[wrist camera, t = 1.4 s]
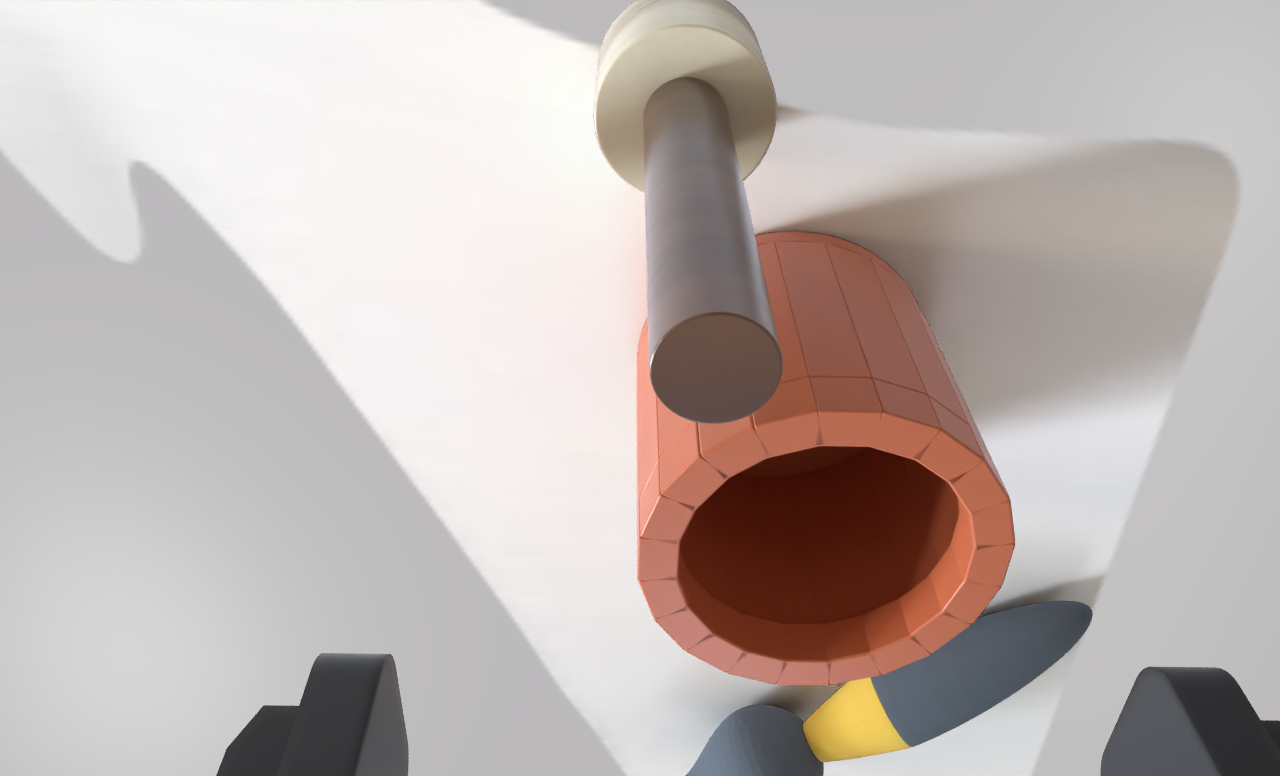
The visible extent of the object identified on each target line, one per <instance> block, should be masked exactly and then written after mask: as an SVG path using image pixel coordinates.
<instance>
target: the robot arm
mask: <svg viewBox="0 0 1280 776" xmlns="http://www.w3.org/2000/svg"><path fill="white" fill-rule="evenodd" d="M217 776H408V741H407V734H406V728H405V722H404V716H403V709H402V703H401V697H400V691H399V684H398V678H397V672H396V666H395V661H394V658H393V656H392V655H391V654H338V653H337V654H334V653H322V654H320V655H319V656H318V657H317V658H316V660H315V662H314V664H313V667H312V669H311V672H310V675H309V678H308V681H307V684H306V687H305V690H304V693H303V697H302V699H301V703H300V705H299V706H263V707H262V708H261V709H260V710H259V712H258V713H257V714H256V715H255V716H254V718H253V719H252V720H251V721H250V722H249V723H248V724H247V726H246V727H245V728H244V729H243V730H242V731H241V733H240V734H239V735H238V736H237V737H236V738H235V739H234V741H233V742H232V743H231V744H230V745H229V746H228V748H227V750H226V752H225V755H224V757H223V760H222V763H221V765H220V768H219V771H218V773H217ZM1101 776H1280V721H1261V720H1260V719H1259V717H1258V715H1257V714H1256V712H1255V711H1254V709H1253V707H1252V706H1251V704H1250V702H1249V701H1248V699H1247V697H1246V696H1245V695H1244V693H1243V691H1242V689H1241V688H1240V686H1239V685H1238V683H1237V682H1236V680H1235V679H1234V678H1233V677H1232V676H1231V675H1230V674H1229V673H1228V672H1226V671H1225V670H1223V669H1220V668H1202V667H1199V668H1198V667H1147V668H1145V669H1143V670H1142V671H1141V672H1140V673H1139V675H1138V677H1137V678H1136V681H1135V683H1134V685H1133V687H1132V690H1131V692H1130V694H1129V696H1128V699H1127V701H1126V703H1125V705H1124V707H1123V710H1122V712H1121V714H1120V717H1119V719H1118V721H1117V723H1116V725H1115V728H1114V730H1113V732H1112V734H1111V737H1110V739H1109V741H1108V743H1107V745H1106V748H1105V750H1104V753H1103V756H1102V762H1101Z"/></svg>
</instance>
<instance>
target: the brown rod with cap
mask: <svg viewBox="0 0 1280 776" xmlns="http://www.w3.org/2000/svg"><path fill="white" fill-rule="evenodd" d="M593 117H594V128H595V133H596V138H597V141H598V144H599V147H600V150H601V152H602V154H603V156H604V158H605V159H606V161H607V162H608V164H609V165H610V167H611V168H612V169H613V171H614V172H615V173H616V174H617V175H618V176H619V177H620V178H621V179H622V180H623V181H624V182H626V183H627V184H628V185H629V186H631V187H633V188H634V189H636V190H637V191H639V192H641V193H643V194H645V216H646V259H647V301H648V344H649V376H650V381H651V385H652V387H653V390H654V392H655V394H656V395H657V397H658V398H659V400H660V401H661V402H662V403H663V404H664V405H665V406H666V407H667V408H668V409H669V410H671V411H672V412H673V413H675V414H677V415H678V416H680V417H682V418H685V419H687V420H690V421H693V422H697V423H703V424H723V423H729V422H733V421H737V420H740V419H743V418H745V417H747V416H749V415H751V414H753V413H754V412H756V411H757V410H759V409H760V408H761V407H762V406H764V405H765V404H766V403H767V402H768V401H769V400H770V398H771V397H772V396H773V394H774V393H775V391H776V389H777V387H778V386H779V383H780V380H781V377H782V372H783V359H782V353H781V348H780V344H779V340H778V335H777V331H776V326H775V322H774V317H773V313H772V308H771V304H770V299H769V295H768V291H767V286H766V282H765V277H764V273H763V268H762V264H761V259H760V255H759V250H758V246H757V242H756V237H755V233H754V228H753V224H752V219H751V215H750V210H749V206H748V201H747V197H746V193H745V188H744V184H743V181H744V180H745V179H746V178H747V177H748V176H749V175H750V174H751V173H752V172H753V171H754V170H755V169H756V167H757V166H758V165H759V164H760V162H761V161H762V159H763V157H764V156H765V154H766V152H767V150H768V148H769V146H770V144H771V141H772V138H773V135H774V132H775V126H776V120H777V103H776V95H775V90H774V86H773V83H772V80H771V77H770V74H769V72H768V69H767V66H766V63H765V61H764V58H763V55H762V52H761V49H760V46H759V44H758V41H757V38H756V36H755V33H754V31H753V30H752V28H751V26H750V24H749V23H748V21H747V20H746V18H745V17H744V16H743V14H742V13H740V12H739V10H737V8H736V7H735V6H733V5H732V4H731V3H729V2H728V1H727V0H636V1H635V2H633V3H632V4H630V5H629V6H628V7H627V8H626V9H625V10H623V11H622V13H621V14H620V15H619V16H618V17H617V18H616V19H615V21H614V22H613V24H612V25H611V27H610V28H609V30H608V32H607V34H606V36H605V38H604V40H603V43H602V46H601V49H600V54H599V59H598V69H597V79H596V90H595V100H594V114H593Z"/></svg>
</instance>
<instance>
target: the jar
mask: <svg viewBox="0 0 1280 776" xmlns="http://www.w3.org/2000/svg"><path fill="white" fill-rule="evenodd" d="M755 237H756V242H757V246H758V250H759V255H760V259H761V264H762V268H763V273H764V277H765V282H766V286H767V291H768V295H769V299H770V304H771V308H772V313H773V317H774V322H775V326H776V331H777V335H778V340H779V344H780V348H781V353H782V359H783V372H782V377H781V380H780V383H779V386H778V387H777V389H776V391H775V393H774V394H773V396H772V397H771V398H770V400H769V401H768V402H767V403H766V404H765V405H764V406H762V407H761V408H760V409H759V410H757V411H756V412H754V413H753V414H751V415H749V416H747V417H745V418H743V419H740V420H737V421H733V422H729V423H723V424H703V423H697V422H693V421H690V420H687V419H685V418H682V417H680V416H678V415H677V414H675V413H673V412H672V411H671V410H669V409H668V408H667V407H666V406H665V405H664V404H663V403H662V402H661V401H660V400H659V398H658V397H657V395H656V394H655V392H654V390H653V387H652V385H651V381H650V376H649V344H648V317H647V320H646V322H645V324H644V327H643V330H642V333H641V337H640V341H639V346H638V355H637V578H638V581H639V584H640V586H641V589H642V591H643V594H644V596H645V598H646V601H647V603H648V606H649V608H650V610H651V613H652V615H653V617H654V620H655V621H656V622H657V623H658V624H659V625H660V626H661V627H662V628H663V629H664V630H665V631H666V632H667V633H668V634H669V635H670V637H671V638H672V639H673V640H674V641H675V642H676V643H677V644H678V645H679V646H680V647H681V648H682V649H683V650H686V652H688V653H690V654H692V655H693V656H695V657H697V658H699V659H701V660H703V661H705V662H707V663H709V664H710V665H712V666H714V667H716V668H718V669H720V670H722V671H724V672H727V673H729V674H732V675H736V676H741V677H745V678H749V679H753V680H758V681H762V682H766V683H770V684H777V685H824V686H827V685H829V683H830V684H831V685H833V684H838V683H843V682H849V681H854V680H859V679H864V678H869V677H874V676H879V675H881V673H882V674H883V675H884V674H887V673H889V672H891V671H894V670H896V669H899V668H901V667H903V666H906V665H908V664H910V663H913V662H915V661H917V660H920V659H922V658H924V657H927V656H929V655H930V654H931V653H934V652H935V651H936V650H938V649H939V648H940V647H942V646H943V645H945V644H946V643H947V642H949V641H950V640H951V639H953V638H954V637H955V636H957V635H958V634H959V633H961V632H962V631H964V630H965V629H966V628H968V627H969V626H970V625H971V623H974V622H975V621H976V619H977V618H978V617H979V615H980V614H981V613H982V612H983V610H984V609H985V608H986V606H987V605H988V604H989V602H990V601H991V600H992V599H993V597H994V596H995V595H996V593H997V592H998V591H999V589H1000V588H1001V585H1003V582H1004V578H1005V575H1006V572H1007V569H1008V566H1009V563H1010V559H1011V556H1012V553H1013V550H1014V547H1015V534H1014V526H1013V517H1012V509H1011V501H1010V498H1009V495H1008V493H1007V491H1006V489H1005V486H1004V484H1003V482H1002V480H1001V478H1000V476H999V474H998V471H997V469H996V467H995V465H994V463H993V461H992V458H991V456H990V454H989V452H988V450H987V448H986V446H985V444H984V441H983V439H982V437H981V435H980V433H979V431H978V429H977V426H976V424H975V422H974V420H973V418H972V416H971V414H970V411H969V409H968V407H967V405H966V403H965V401H964V399H963V396H962V394H961V392H960V390H959V388H958V386H957V384H956V381H955V379H954V377H953V375H952V373H951V371H950V369H949V367H948V364H947V362H946V360H945V358H944V356H943V354H942V352H941V349H940V347H939V345H938V343H937V341H936V339H935V337H934V334H933V332H932V330H931V328H930V326H929V324H928V322H927V319H926V317H925V316H924V314H923V313H922V311H921V309H920V308H919V306H918V304H917V302H916V300H915V298H914V296H913V294H912V292H911V291H910V289H909V287H908V286H907V285H906V283H905V282H904V281H903V279H902V278H901V277H900V276H899V274H898V273H897V272H895V271H894V270H893V269H892V268H891V267H890V266H889V265H888V264H887V263H886V262H885V261H883V260H882V259H880V258H879V257H877V256H876V255H875V254H873V253H872V252H870V251H868V250H866V249H864V248H862V247H860V246H858V245H856V244H854V243H851V242H848V241H845V240H842V239H840V238H837V237H832V236H828V235H823V234H818V233H809V232H797V231H796V232H774V233H768V234H762V235H756V236H755Z"/></svg>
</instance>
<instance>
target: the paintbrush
mask: <svg viewBox="0 0 1280 776" xmlns="http://www.w3.org/2000/svg"><path fill="white" fill-rule="evenodd" d="M1091 619H1092V610H1091V609H1090V607H1089V606H1087V605H1085V604H1083V603H1080V602H1075V601H1051V602H1042V603H1036V604H1030V605H1025V606H1020V607H1016V608H1012V609H1008V610H1004V611H1000V612H997V613H993V614H989V615H986V616H983V617H980V618H977V619H976V621H975V622H974V623H971V625H970V626H969V627H968V628H966V629H965V630H964V631H962V632H961V633H959V634H958V635H957V636H955V637H954V638H953V639H951V640H950V641H949V642H947V643H946V644H945V645H943V646H942V647H940V648H939V649H938V650H936V651H935V652H934V653H931V654H930V655H929V656H927V657H924V658H922V659H920V660H917V661H915V662H913V663H910V664H908V665H906V666H903V667H901V668H899V669H896V670H894V671H891V672H889V673H887V674H884V675H883V674H882V673H881V675H879V676H874V677H869V678H864V679H859V680H854V681H849V682H847V683H846V684H845V685H844V686H842V687H841V688H840V689H839V690H838V691H837V692H836V693H834V694H833V695H832V696H831V697H830V698H829V699H828V700H827V701H825V702H824V703H823V704H822V705H821V706H820V707H819V708H818V709H817V710H816V711H815V712H814V713H813V714H812V715H811V716H810V717H809V718H808V719H807V720H806V721H805V722H803V721H802V720H801V719H800V718H799V717H797V716H796V715H795V714H793V713H791V712H789V711H787V710H785V709H782V708H779V707H776V706H771V705H751V706H747V707H744V708H741V709H739V710H737V711H735V712H734V713H732V714H731V715H729V716H728V717H727V718H726V719H725V720H724V721H723V722H722V723H721V724H720V726H719V727H718V728H717V729H716V731H715V732H714V734H713V735H712V736H711V738H710V739H709V741H708V743H707V744H706V746H705V748H704V749H703V751H702V753H701V755H700V756H699V758H698V760H697V761H696V763H695V765H694V766H693V767H692V769H691V770H690V771H689V773H688V774H687V775H686V776H823V770H824V769H823V762H830V761H838V760H846V759H853V758H860V757H866V756H871V755H877V754H883V753H888V752H893V751H898V750H902V749H907V748H910V747H914V746H916V745H919V744H922V743H924V742H926V741H928V740H930V739H933V738H935V737H937V736H939V735H941V734H943V733H945V732H947V731H950V730H952V729H954V728H956V727H958V726H960V725H962V724H963V723H965V722H967V721H969V720H971V719H972V718H974V717H976V716H978V715H980V714H982V713H983V712H985V711H987V710H988V709H990V708H992V707H993V706H995V705H996V704H998V703H1000V702H1001V701H1003V700H1004V699H1006V698H1008V697H1009V696H1011V695H1012V694H1014V693H1015V692H1017V691H1018V690H1020V689H1021V688H1022V687H1024V686H1025V685H1027V684H1028V683H1030V682H1031V681H1032V680H1034V679H1035V678H1036V677H1038V676H1039V675H1040V674H1042V673H1043V672H1044V671H1046V670H1047V669H1048V668H1049V667H1051V666H1052V665H1053V664H1054V663H1056V662H1057V661H1058V660H1059V659H1060V658H1061V657H1063V656H1064V655H1065V654H1066V653H1067V652H1068V651H1069V650H1070V649H1071V648H1072V647H1073V646H1074V645H1075V644H1076V643H1077V642H1078V640H1079V639H1080V638H1081V637H1082V635H1083V634H1084V633H1085V631H1086V630H1087V628H1088V626H1089V625H1090V622H1091Z"/></svg>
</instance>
